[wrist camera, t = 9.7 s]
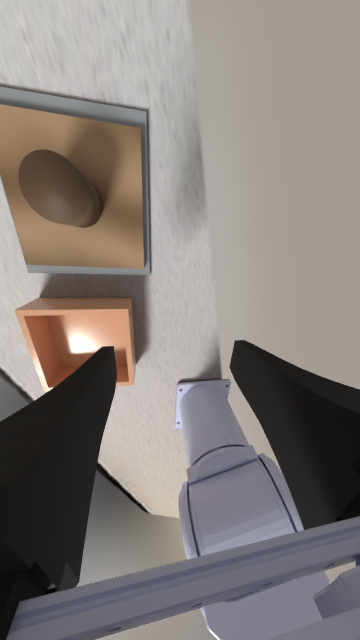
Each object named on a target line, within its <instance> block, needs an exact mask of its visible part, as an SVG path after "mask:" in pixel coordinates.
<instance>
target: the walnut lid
mask: <svg viewBox="0 0 360 640" xmlns="http://www.w3.org/2000/svg"><path fill="white" fill-rule="evenodd" d="M0 175H1V179H2V182H3V186H4V189H5V193H6V196H7V200H8V203H9V207H10V210H11V214H12V217H13V221H14V224H15V228H16V231H17V235H18V238H19V242H20V245H21V249H22V252H23V256H24V259H25V263H26V265H47V266H74V267H101V268H128V269H144V238H143V194H142V150H141V128H138V127H132V126H126V125H120V124H114V123H108V122H102V121H97V120H91V119H85V118H79V117H73V116H67V115H61V114H55V113H49V112H43V111H38V110H32V109H26V108H20V107H14V106H8V105H2V104H0Z"/></svg>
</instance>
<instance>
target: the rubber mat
mask: <svg viewBox="0 0 360 640" xmlns="http://www.w3.org/2000/svg"><path fill="white" fill-rule="evenodd" d="M0 104H2V105H8V106H14V107H20V108H26V109H32V110H38V111H43V112H49V113H55V114H61V115H67V116H73V117H79V118H85V119H91V120H97V121H102V122H108V123H114V124H120V125H126V126H132V127H138V128H141V150H142V194H143V238H144V269H128V268H101V267H74V266H47V265H26V266H27V269H28V272H29V273H65V274H115V275H150V262H149V216H148V170H147V124H146V111H140V110H135V109H129V108H123V107H117V106H111V105H105V104H99V103H94V102H88V101H82V100H76V99H70V98H64V97H58V96H52V95H47V94H41V93H35V92H29V91H23V90H17V89H11V88H6V87H0ZM0 178H1V175H0ZM1 182H2V179H1ZM2 185H3V182H2ZM3 188H4V186H3ZM4 192H5V189H4ZM5 195H6V193H5ZM6 199H7V196H6ZM7 202H8V200H7ZM8 205H9V203H8ZM9 209H10V207H9ZM10 212H11V210H10ZM11 215H12V214H11ZM12 219H13V217H12ZM13 222H14V221H13ZM14 225H15V224H14ZM15 229H16V228H15ZM16 232H17V231H16ZM18 239H19V238H18Z"/></svg>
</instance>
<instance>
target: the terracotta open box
mask: <svg viewBox="0 0 360 640" xmlns="http://www.w3.org/2000/svg"><path fill="white" fill-rule="evenodd" d="M15 313H16V315H17V318H18V321H19V324H20V326H21V329H22V332H23V335H24V337H25V340H26V343H27V346H28V349H29V351H30V354H31V357H32V360H33V362H34V365H35V368H36V371H37V373H38V376H39V379H40V382H41V385H42V387H43V390H44V392H48V391H50V390H51V389H52V388H54V387H55V386H57V385H58V384H59V383H61V382H62V381H63V380H64V379H65V378H67V377H68V376H69V375H70V374H72V373H73V372H74V371H75V370H77V369H78V368H79V367H80V366H81V365H82V364H83V363H85V362H86V361H87V360H88V359H89V358H90V357H91V356H92V355H93V354H94V353H95V352H97V351H98V350H99V349H100V348H101V347H102V346H114V352H115V360H116V368H117V381H116V386H124V385H134V380H135V370H136V356H135V341H134V326H133V311H132V298H37V299H35V300H33V301H31V302H29V303H28V304H26V305H24V306H22V307H20V308H18V309H16V310H15Z"/></svg>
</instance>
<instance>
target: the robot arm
mask: <svg viewBox="0 0 360 640" xmlns="http://www.w3.org/2000/svg"><path fill="white" fill-rule="evenodd" d="M230 369H231V372H232V374H233V377H234V379H235V381H236V383H237V385H238V386H239V388H240V389H241V392H242V393H243V395H244V397H245V398H246V400H247V402H248V403H249V405H250V406H251V408H252V410H253V412H254V413H255V415H256V417H257V418H258V420H259V422H260V424H261V426H262V428H263V430H264V432H265V434H266V437H267V439H268V441H269V443H270V445H271V448H272V449H273V452H274V454H275V456H276V459H277V461H278V463H279V466H280V468H281V470H282V473H283V474H282V473H281V471H280V469H279V468H278V466H277V465H276V464H275V462H274V461H273V460H272V459H271V458H269V457H267V456H266V455H265V454H263V453H262V454H259V455H257V453H256V451H255V449H254V447H253V446H252V445H249V444H248V442H247V440H246V438H245V435H244V433H243V431H242V429H241V427H240V425H239V424H238V421H237V419H236V417H235V415H234V413H233V411H232V409H231V407H230V405H229V403H228V401H227V398H228V393H229V388H230V384H231V382H230V380H229V379H223V380H211V381H199V382H186V383H179V384H178V385H177V397H176V415H175V428H176V429H182V434H183V440H184V445H185V451H186V457H187V463H188V469H187V476H188V481H187V482H184V483H183V485H182V489H181V491H180V494H179V517H180V526H181V532H182V539H183V544H184V549H185V553H186V557H187V560H183V561H179V562H175V563H171V564H167V565H164V566H159V567H155V568H152V569H147V570H144V571H139V572H136V573H131V574H127V575H124V576H119V577H115V578H112V579H107V580H104V581H99V582H95V583H91V584H87V585H83V586H79V587H76V586H77V584H78V582H79V578H80V570H81V563H82V555H83V549H84V542H85V535H86V528H87V521H88V515H89V509H90V503H91V496H92V490H93V484H94V479H95V473H96V467H97V461H98V456H99V451H100V445H101V441H102V436H103V432H104V429H105V425H106V422H107V418H108V415H109V411H110V408H111V404H112V400H113V397H114V393H115V388H116V381H117V368H116V360H115V352H114V346H102V347H101V348H100V349H99V350H98V351H97V352H95V353H94V354H93V355H92V356H91V357H90V358H89V359H88V360H87V361H86V362H85V363H83V364H82V365H81V366H80V367H79V368H78V369H77V370H75V371H74V372H73V373H72V374H70V375H69V376H68V377H67V378H65V379H64V380H63V381H62V382H61V383H59V384H58V385H57V386H55V387H54V388H52V389H51V390H50V391H48V392H47V393H45V394H44V395H42V396H41V397H40V398H38V399H37V400H35V401H33V402H32V403H30V404H29V405H27V406H25V407H24V408H22V409H21V410H19V411H17V412H16V413H14V414H12V415H11V416H9V417H7V418H6V419H4V420H2V421H1V422H0V640H95V639H98V638H101V637H104V636H108V635H111V634H114V633H118V632H121V631H124V630H127V629H131V628H135V627H138V626H141V625H145V624H148V623H151V622H154V621H158V620H161V619H164V618H168V617H171V616H174V615H178V614H181V613H184V612H188V611H191V610H194V609H198V608H201V611H202V614H203V615H204V617H205V620H206V625H207V628H208V630H209V631H210V632H211V633H212V634H213V635H214V636H215V637H216V638H217V639H218V640H360V390H359V389H356V388H353V387H350V386H347V385H343V384H341V383H338V382H335V381H332V380H329V379H326V378H324V377H321V376H318V375H316V374H313V373H311V372H309V371H306V370H303V369H301V368H299V367H297V366H295V365H293V364H291V363H289V362H286V361H284V360H282V359H280V358H278V357H276V356H275V355H272V354H271V353H269V352H267V351H265V350H263V349H261V348H259V347H257V346H255V345H254V344H252V343H249V342H247V341H244V340H240V341H235V343H234V348H233V353H232V358H231V363H230ZM283 475H284V476H283ZM354 561H356V567H355V568H352V569H350V570H348V571H346V572H343V573H341V574H340V575H339V576H338V577H337V579H336V580H335V581H334V582H332V583H331V584H330V585H329V580H328V578H327V576H326V574H325V570H327V569H331V568H334V567H338V566H341V565H344V564H348V563H351V562H354Z"/></svg>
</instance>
